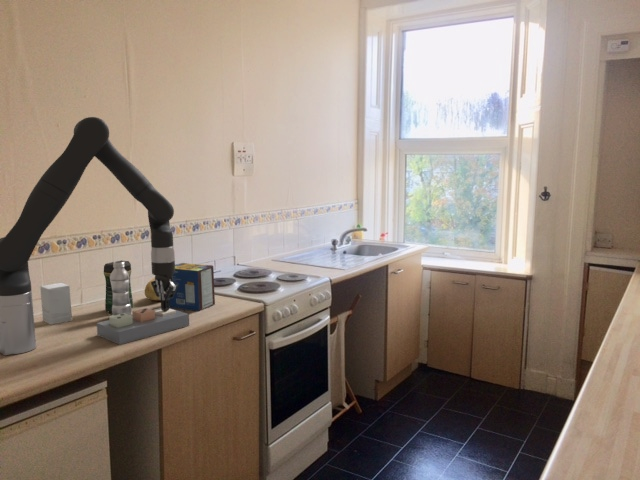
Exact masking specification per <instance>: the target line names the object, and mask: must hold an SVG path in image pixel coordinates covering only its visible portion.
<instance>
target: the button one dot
mask: <svg viewBox="0 0 640 480" xmlns="http://www.w3.org/2000/svg"><path fill="white" fill-rule="evenodd" d="M172 309H173V308H171V309H169V310H167V311H163V310H157V311H155V314H157V315H160V316H167V315H171V314H175V313H176V310H177V309H174V310H172Z"/></svg>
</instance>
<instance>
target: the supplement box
mask: <svg viewBox="0 0 640 480" xmlns="http://www.w3.org/2000/svg"><path fill="white" fill-rule="evenodd" d="M70 286H71V285H69V284H66V283H63V282H57V283H51V284H45V285H41V286H40V287H39V289H40V299H41V309H42V310H41V312H42V313H41V314H42V321H43V322H44V321H45V323H47V324H48V325H51V326H52V325H58V324H62V323H67V322H71V321H73V316H72V315H73V314H72V302H71V289H70V288H71V287H70Z"/></svg>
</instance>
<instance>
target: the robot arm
mask: <svg viewBox="0 0 640 480" xmlns="http://www.w3.org/2000/svg"><path fill="white" fill-rule="evenodd" d="M109 138H110V129H109V126H108V124H107V123H106V122H105V121H104V119H101V118H99V117H96V116H88V117H84V118H83V119H80V120H79V121H78V122H77V123H76V124H75V126H74V128H73V136H72V138H71V139H70V141H69V143H68V145H67V146H66V148H65V149H64V150H63V152H62V153H61V155H59V157H57V159H55V161H54V162H53V163H52V164H51V165H49V167H48V168H47V169H46V171H45V172H44V173H43V174H42V176H40V178H39V179H38V181H37V183H36V184H35V186H34V187H33V189H32V190H31V192H30V193H29V196H28V197H27V200H26V201H25V204H24V206H23V209H22V211H21V212H20V215H19V217H18V219H17V221H16V223H14V225H13V226H12V228H11V229H9V231H8V232H7V234H6V235H5V236H4V237H0V354H2V355H4V356H8V355H19V354H23V353H27V352H30V351H33V350H34V349H35V348H36V347H37V342H36V341H37V340H36V328H35V327H36V326H35V317H34V304H33V291H32V281H31V278H30V277H31V276H30V269H29V260H30V259H31V256H32V254H33V252H34V250H35V248H36V246H37V244H38V243H39V241H40V239H41V237H42V235H43V234H44V233H45V231H46V230H47V228H48V227H49V226H50V224H51V223H52V222H53V221H54V220H55V218H56V217H57V216H58V215H59V213H60V212H61V210H62V209H63V208H64V206H65V205H66V203H67V202H68V200H69V198H70V197H71V195H72V193H73V192H74V190H75V189H76V187H77V185H78V184H79V182H80V180H81V178H82V176H83V174H84V172H85V170H86V168H87V167H88V165H89V164H90V163H91V161H92V160H93V159H94V158H96V159H97V160H98V161H99V162H101V164H102V165H104V166H105V167H106V169H107V170H108V171H109V172H110V173H111V174H112V175H113V176H114V177H115V178H116V180H118V182H119V183H120V184H121V185H122V186H123V188H125V189H126V191H127V192H128V193H129V194H130V195H131V196H132V197H133V198H134V199H135V200H136V201H138V202H139V203H140V204H141V205H142V206H143V207H144V208H145V209H146V210H147V217H148V224H149V229H150V244H151V245H150V246H151V250H150V259H151V260H150V261H151V274H152V275H153V276H154V278H155V280H154V281H151V280H150V281H151V284H152V287H153V289H154V291H155V294H156V296H157V297H159V299H160V300H159V301H160V308H161V310H163V311H167V310H169V308H170V307H169V299H171V298H173V297H174V295H175V293H176V291H177V288H178V286H177V285H174V283H173V277H172V275H173V274H174V273H175V265H176V258H175V257H176V255H175V250H174V249H175V247H174V235H173V234H174V233H173V231H172V229H171V227H170V225H171V224H170V221H171V220H172V219H173V216H174V214H175V210H174V206H173V205H172V204H171V202H170V201H169V199H167V198H166V197H165V196H164V195H163V194H162V193H161V192H160V191H158V190H157V189H156V188H155V186H154V185H153V184H152V183H151V182H150V180H149V179H148V178H147V177H146V176H145V174H143V173H142V171H140V170H139V169H138V168H137V167H136V166H135V165H134V164H133V163H132V162H130V161H129V160H128V159H127V158H126V157H125V156H123V155H122V154H121V152H120V151H118V149H117V148H116V147H115V146H114V145H113V142H111V141H110V139H109Z"/></svg>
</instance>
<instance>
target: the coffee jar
mask: <svg viewBox="0 0 640 480" xmlns="http://www.w3.org/2000/svg"><path fill="white" fill-rule="evenodd" d="M120 261H124V263H125V267H124V269H125V270H126V271H127V272H128V274H129V299H130V304H131V308H132V309H133V308H134V301H133V295H132V294H133V293H132V283H131V275H132V265H131V262H130V261H129V260H123V259H122V260H120ZM113 262H114V261H112V262H108V263H105V264H104V265H103V275H104V278H105V303H104V306H105V308H104V310H105V311H106V312H108V313H110V314H113V313H112V305H113V292H112V286H111V282H110V274H111V273H112V271H113V270H114V268H113Z"/></svg>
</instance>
